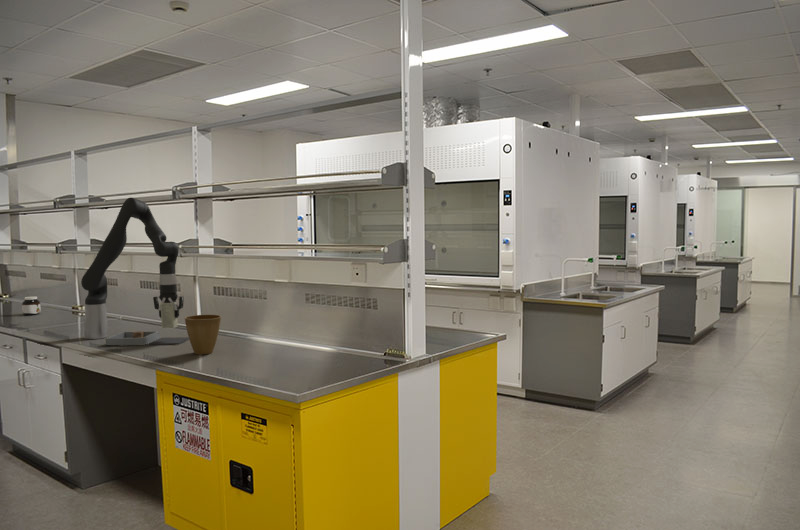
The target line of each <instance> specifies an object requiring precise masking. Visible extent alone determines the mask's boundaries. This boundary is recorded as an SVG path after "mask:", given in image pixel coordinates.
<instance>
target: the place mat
mask: <svg viewBox="0 0 800 530" xmlns="http://www.w3.org/2000/svg"><path fill="white" fill-rule="evenodd" d="M188 339H189V336H186V337H185V336H184V337H182V336H181V337H174V336H173V337H160V338H159V339H157V340H155V341H152V342H150V343H148V344H149V346H168V345H167V344H180V345H181V344H183V343H185V342H187V341H189V340H188ZM186 340H187V341H186Z"/></svg>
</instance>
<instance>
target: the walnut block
mask: <svg viewBox="0 0 800 530" xmlns="http://www.w3.org/2000/svg"><path fill="white" fill-rule="evenodd" d="M132 332H133V338H143V337H144V331H142V330H140V331H139V330H138V331H137V330H136V332H135V331H132Z"/></svg>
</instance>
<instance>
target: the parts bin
mask: <svg viewBox="0 0 800 530" xmlns="http://www.w3.org/2000/svg"><path fill="white" fill-rule="evenodd" d="M136 331H137V330H136ZM136 331H122V332H119V333H117V334H113V335H111V336H109V337H108V336H107V337H105V346H106V345H144V346H145V344H146V345H147V343H148V344H149V342H150V343H151V342H153V341H154V340H156V339H157V340H158V338H159V339H160V338H161V337H160V336H161V335H160V330H158V331H157V330H155V331H154V330H152V331H150V330H149V331H147V330H145V331H144V337H143V338H133V332H136Z"/></svg>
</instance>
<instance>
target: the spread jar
mask: <svg viewBox="0 0 800 530" xmlns="http://www.w3.org/2000/svg"><path fill="white" fill-rule="evenodd" d="M41 311H42V309H41V301H40V300H38V296H25V297H24V301H22V303H21V313H22V314H23V315H24V316H25V317H27V316H28V317H30V316H37V315H40V313H41Z"/></svg>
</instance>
